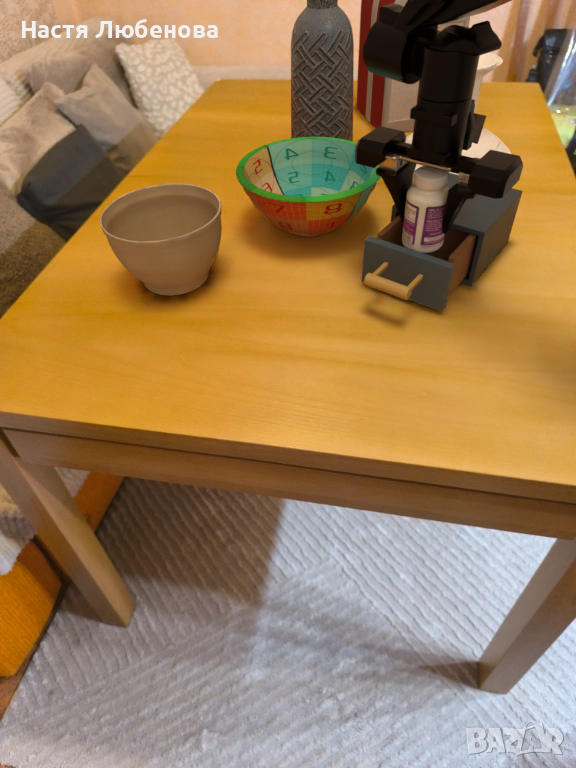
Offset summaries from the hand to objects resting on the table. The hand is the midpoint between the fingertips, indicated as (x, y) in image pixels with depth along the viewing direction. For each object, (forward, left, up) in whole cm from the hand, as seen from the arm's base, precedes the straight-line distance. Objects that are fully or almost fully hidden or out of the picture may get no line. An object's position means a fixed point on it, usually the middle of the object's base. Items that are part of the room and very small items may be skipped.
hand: (424, 226), depth 68 cm
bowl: (+22, -6, -9) cm, 25 cm away
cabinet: (0, -11, -9) cm, 14 cm away
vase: (+36, -30, -9) cm, 48 cm away
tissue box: (+32, -56, -9) cm, 65 cm away
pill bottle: (0, 0, -3) cm, 3 cm away
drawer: (0, +1, -8) cm, 8 cm away
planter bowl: (+30, +17, -9) cm, 36 cm away
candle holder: (+10, -32, -9) cm, 34 cm away
